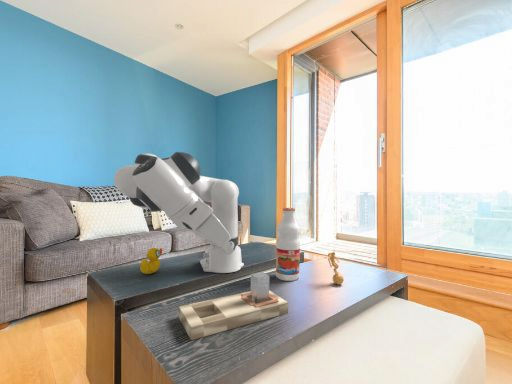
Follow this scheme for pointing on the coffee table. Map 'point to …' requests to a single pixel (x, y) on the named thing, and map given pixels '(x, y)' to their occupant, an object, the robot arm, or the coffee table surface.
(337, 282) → the figurine
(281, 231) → the fruit juice
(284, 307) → the beige flat wooden block
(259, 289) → the steel peg
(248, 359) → the coffee table surface
